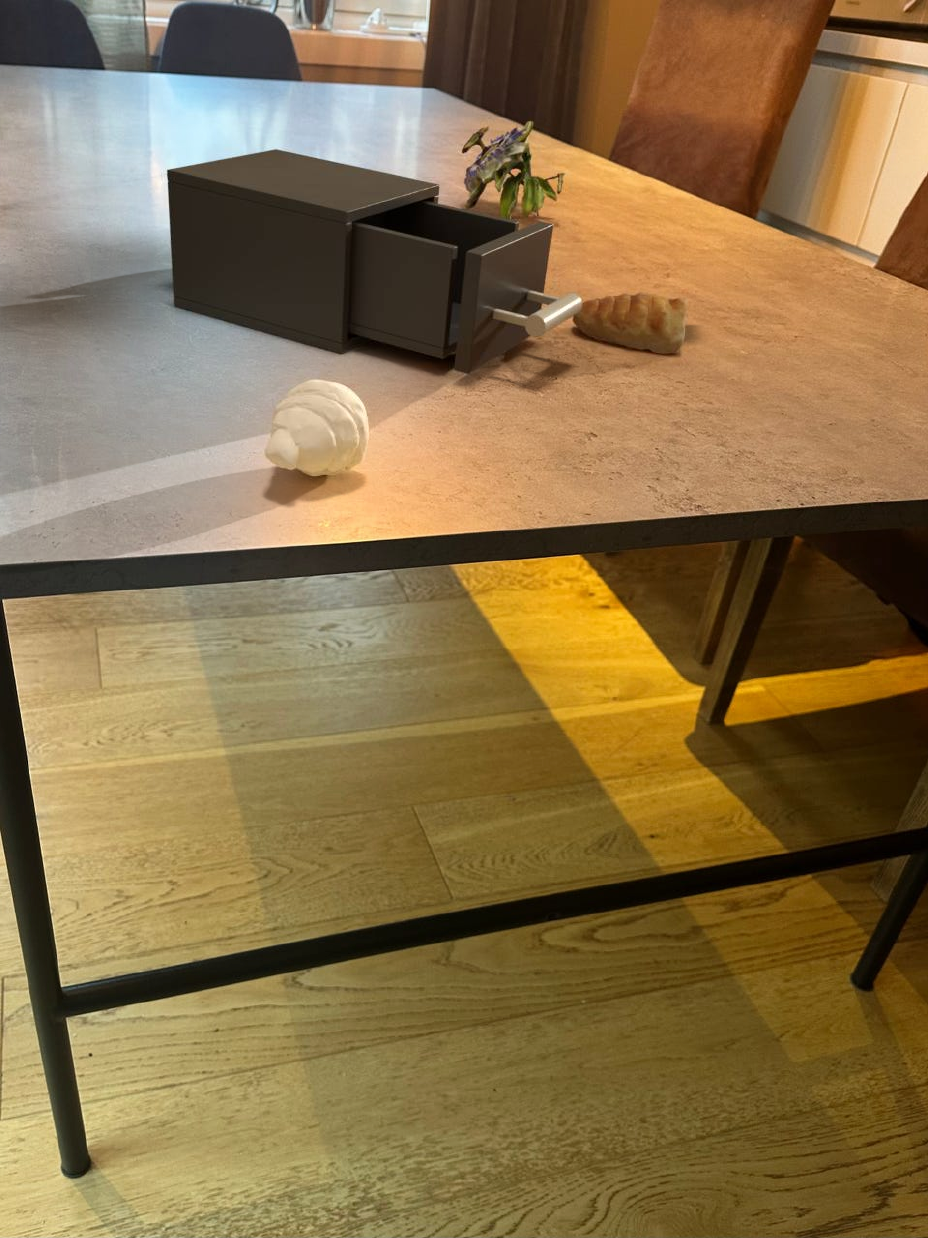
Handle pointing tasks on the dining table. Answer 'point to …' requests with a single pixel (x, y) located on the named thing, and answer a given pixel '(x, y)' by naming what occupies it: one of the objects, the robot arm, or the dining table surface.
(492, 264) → the drawer
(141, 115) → the dining table surface
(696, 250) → the dining table surface
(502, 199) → the passion flower
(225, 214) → the cabinet
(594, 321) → the pastry
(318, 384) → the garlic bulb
